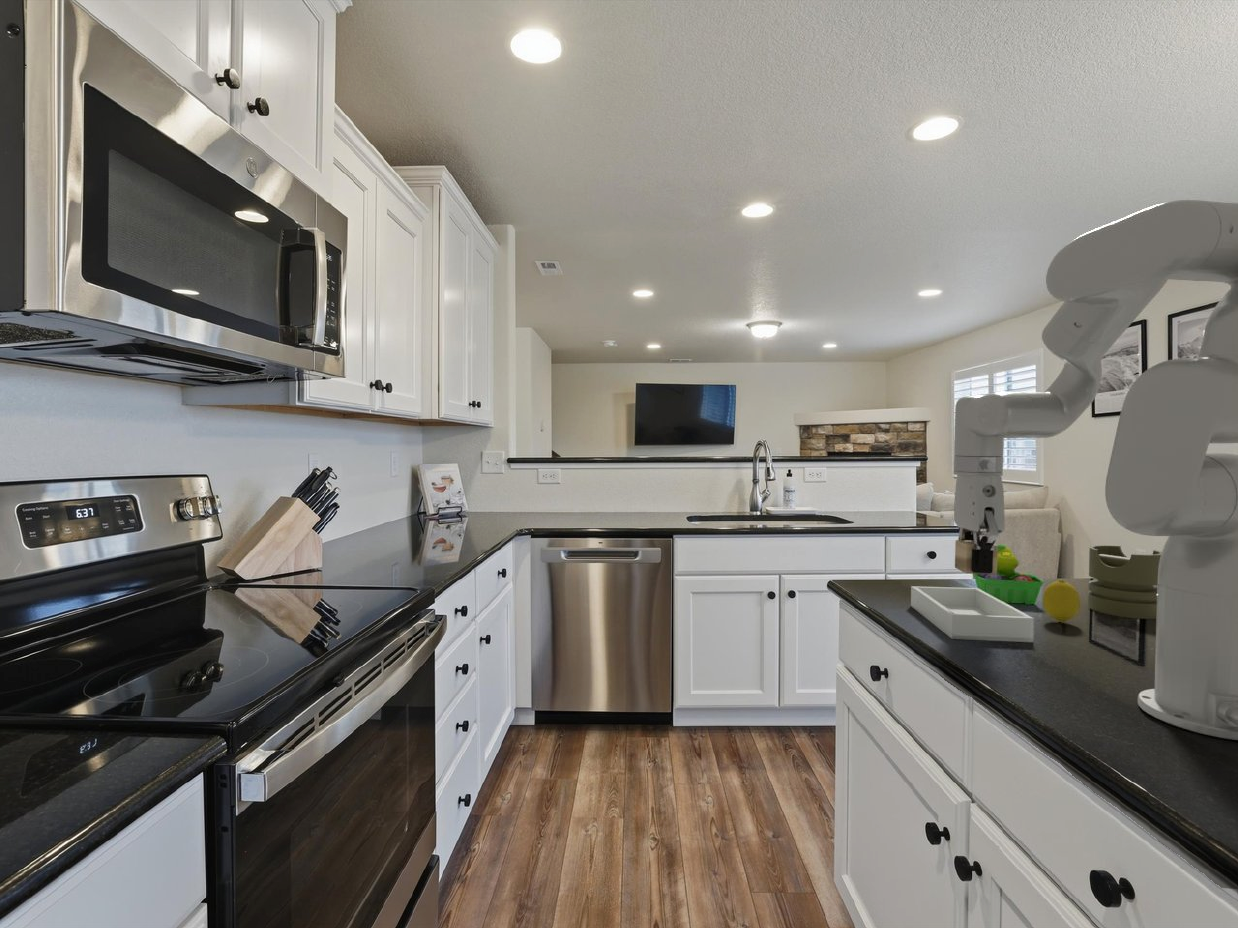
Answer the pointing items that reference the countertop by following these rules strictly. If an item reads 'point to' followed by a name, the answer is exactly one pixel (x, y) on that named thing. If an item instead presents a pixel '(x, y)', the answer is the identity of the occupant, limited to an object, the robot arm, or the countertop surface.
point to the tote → (972, 614)
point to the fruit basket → (1009, 580)
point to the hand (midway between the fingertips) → (974, 567)
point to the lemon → (1061, 601)
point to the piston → (1123, 582)
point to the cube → (970, 556)
